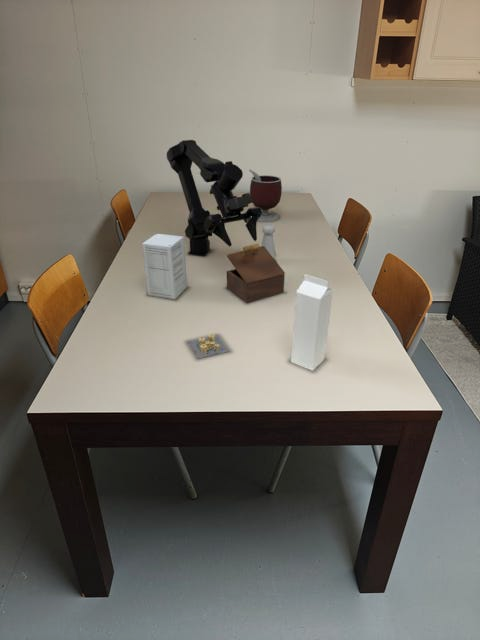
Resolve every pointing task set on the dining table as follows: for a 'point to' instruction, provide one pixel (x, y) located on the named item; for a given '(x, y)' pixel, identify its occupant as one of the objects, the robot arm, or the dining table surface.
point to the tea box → (254, 287)
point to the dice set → (207, 346)
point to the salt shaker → (269, 239)
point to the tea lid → (255, 264)
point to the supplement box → (165, 265)
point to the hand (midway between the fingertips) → (243, 243)
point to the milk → (311, 322)
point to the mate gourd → (265, 194)
